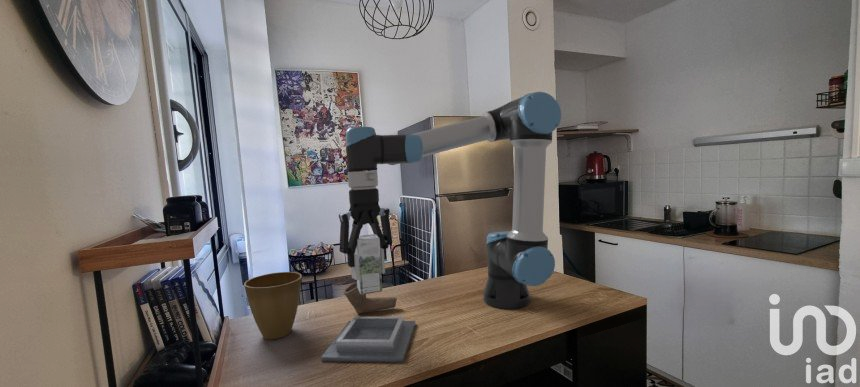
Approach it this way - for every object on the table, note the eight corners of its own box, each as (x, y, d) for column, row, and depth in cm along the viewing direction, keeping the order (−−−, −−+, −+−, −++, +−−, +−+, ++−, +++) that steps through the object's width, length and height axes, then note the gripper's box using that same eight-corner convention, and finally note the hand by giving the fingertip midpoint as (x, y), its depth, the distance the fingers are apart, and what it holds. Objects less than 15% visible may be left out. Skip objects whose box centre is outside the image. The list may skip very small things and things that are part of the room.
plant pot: (299, 342, 94) (295, 284, 93) (240, 349, 92) (235, 290, 91) (309, 319, 109) (306, 269, 107) (259, 324, 106) (254, 273, 105)
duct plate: (415, 324, 102) (415, 312, 102) (403, 362, 82) (402, 348, 82) (349, 324, 104) (348, 312, 104) (321, 361, 84) (320, 347, 84)
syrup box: (378, 285, 96) (375, 232, 95) (382, 292, 90) (379, 236, 89) (357, 288, 94) (353, 235, 93) (360, 295, 88) (357, 239, 87)
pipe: (398, 313, 110) (396, 282, 110) (344, 319, 107) (342, 287, 107) (396, 305, 117) (394, 276, 116) (345, 311, 114) (343, 281, 113)
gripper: (333, 191, 81) (339, 288, 83) (403, 185, 93) (407, 270, 95) (320, 190, 87) (326, 281, 88) (388, 185, 99) (392, 264, 101)
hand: (368, 275), depth 92 cm, fingers closed on syrup box, 7 cm apart
